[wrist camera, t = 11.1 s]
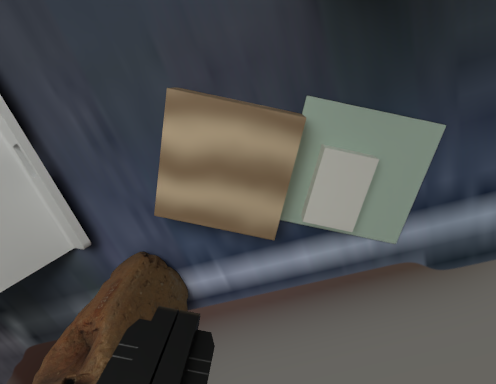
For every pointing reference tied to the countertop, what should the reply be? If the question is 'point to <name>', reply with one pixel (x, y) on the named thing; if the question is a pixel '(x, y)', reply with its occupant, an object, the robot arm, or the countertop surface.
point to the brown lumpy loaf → (112, 319)
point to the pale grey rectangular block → (338, 187)
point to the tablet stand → (30, 208)
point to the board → (226, 162)
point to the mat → (373, 143)
